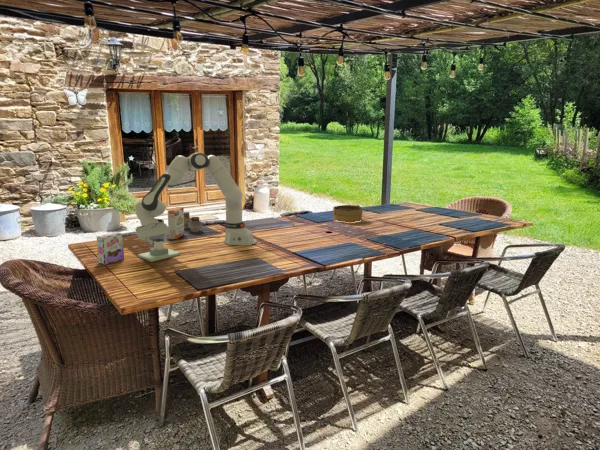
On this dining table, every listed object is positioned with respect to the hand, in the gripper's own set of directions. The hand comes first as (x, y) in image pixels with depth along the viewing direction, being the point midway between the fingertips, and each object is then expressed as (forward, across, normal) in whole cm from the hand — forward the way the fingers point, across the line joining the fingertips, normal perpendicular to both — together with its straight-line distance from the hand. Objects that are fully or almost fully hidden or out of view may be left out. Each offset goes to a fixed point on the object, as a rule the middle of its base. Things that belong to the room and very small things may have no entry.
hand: (159, 242), depth 288 cm
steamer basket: (+21, +169, -8) cm, 170 cm away
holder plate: (+6, 0, +6) cm, 9 cm away
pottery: (-26, +56, +38) cm, 72 cm away
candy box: (-1, -26, +14) cm, 29 cm away
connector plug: (+5, 0, +5) cm, 7 cm away
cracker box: (-17, +34, +29) cm, 48 cm away
